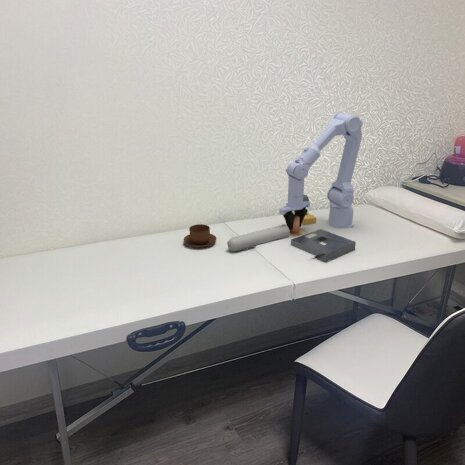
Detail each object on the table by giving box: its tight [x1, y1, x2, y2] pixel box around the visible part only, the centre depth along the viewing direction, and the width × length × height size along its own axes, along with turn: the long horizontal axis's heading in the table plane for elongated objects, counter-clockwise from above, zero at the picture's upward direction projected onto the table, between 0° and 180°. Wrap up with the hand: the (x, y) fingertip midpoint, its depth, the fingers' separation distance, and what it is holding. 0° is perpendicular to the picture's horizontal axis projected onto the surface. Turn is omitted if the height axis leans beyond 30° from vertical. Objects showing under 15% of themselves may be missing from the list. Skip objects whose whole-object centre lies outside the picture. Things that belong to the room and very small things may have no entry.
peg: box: [290, 215, 300, 233], centre depth 166 cm, size 4×4×6 cm
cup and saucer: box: [183, 224, 217, 248], centre depth 159 cm, size 12×12×6 cm
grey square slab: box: [290, 228, 357, 263], centre depth 154 cm, size 16×16×3 cm
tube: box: [226, 223, 291, 253], centre depth 158 cm, size 5×5×25 cm
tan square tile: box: [289, 228, 309, 238], centre depth 167 cm, size 8×8×1 cm
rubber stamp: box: [292, 194, 317, 226], centre depth 177 cm, size 10×6×12 cm, turn 26°
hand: (293, 228), depth 167 cm, fingers closed on peg, 4 cm apart
